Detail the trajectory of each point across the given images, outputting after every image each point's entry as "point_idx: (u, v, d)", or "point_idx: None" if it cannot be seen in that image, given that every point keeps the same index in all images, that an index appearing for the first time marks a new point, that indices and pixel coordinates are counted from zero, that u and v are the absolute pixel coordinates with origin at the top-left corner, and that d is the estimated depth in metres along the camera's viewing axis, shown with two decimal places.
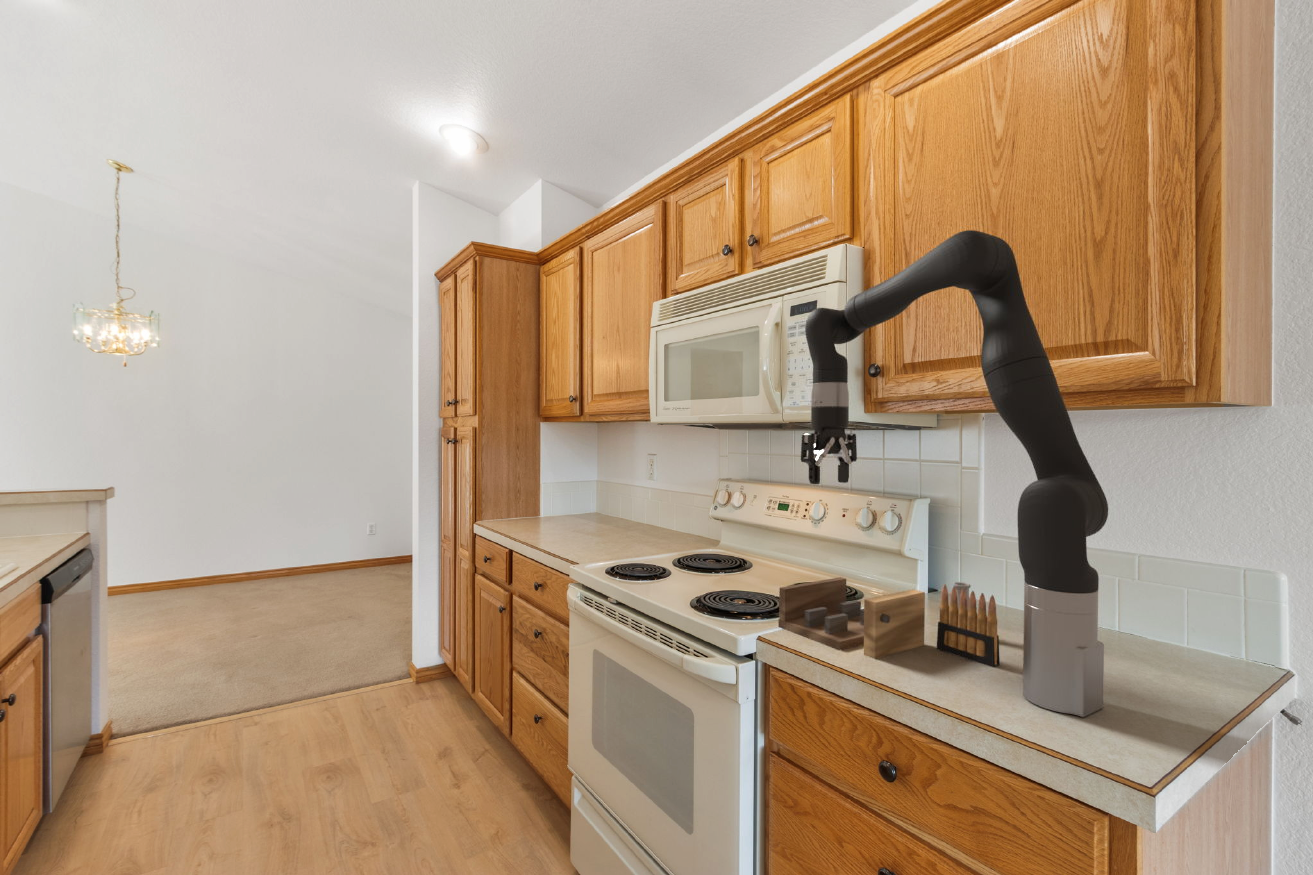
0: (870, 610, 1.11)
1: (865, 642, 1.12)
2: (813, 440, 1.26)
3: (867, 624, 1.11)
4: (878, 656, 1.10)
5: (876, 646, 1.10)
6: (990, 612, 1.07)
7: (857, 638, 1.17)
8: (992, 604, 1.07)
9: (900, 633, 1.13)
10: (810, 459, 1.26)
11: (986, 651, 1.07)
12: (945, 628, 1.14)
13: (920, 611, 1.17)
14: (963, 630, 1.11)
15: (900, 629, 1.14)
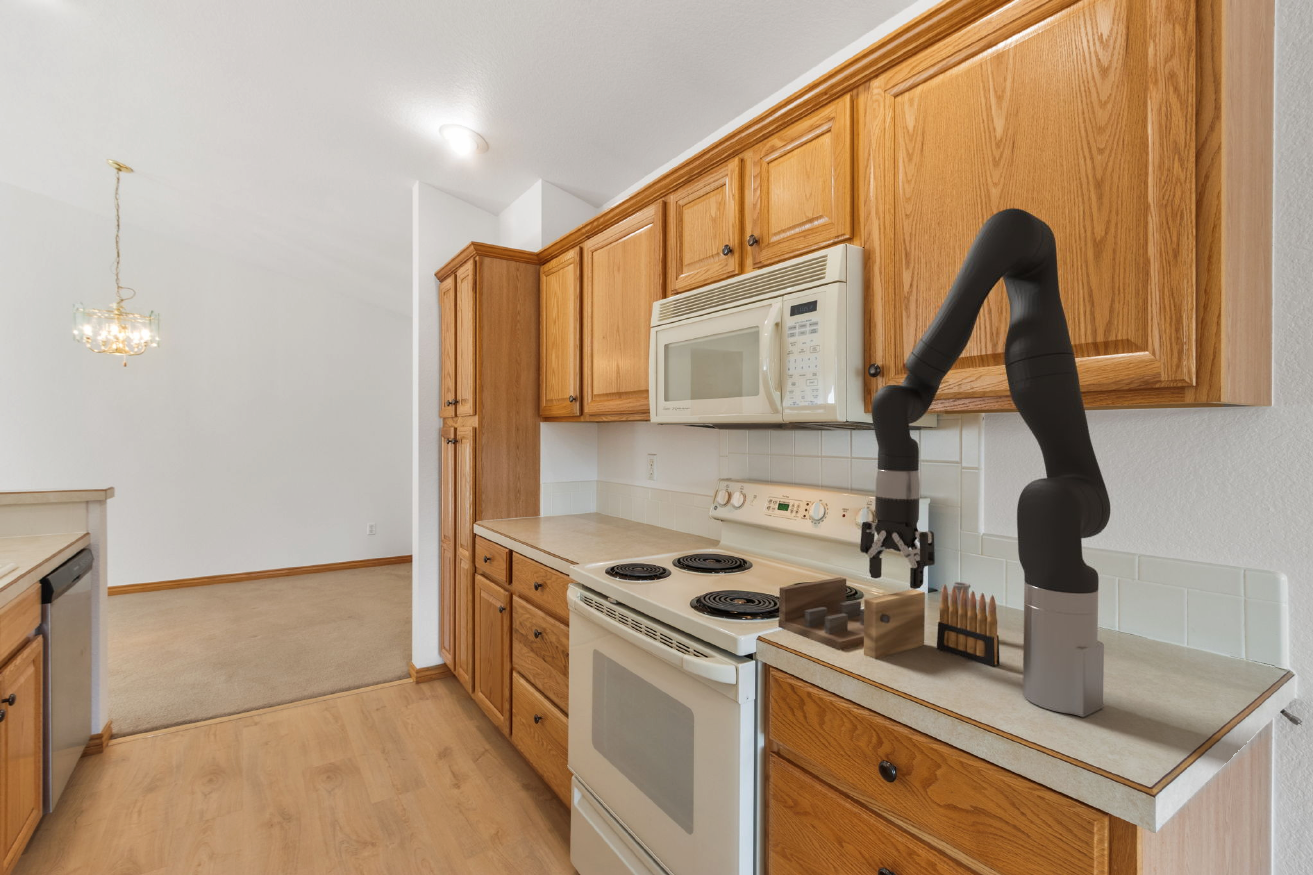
0: (870, 610, 1.11)
1: (865, 642, 1.12)
2: None
3: (867, 624, 1.11)
4: (878, 656, 1.10)
5: (876, 646, 1.10)
6: (990, 612, 1.07)
7: (857, 638, 1.17)
8: (992, 604, 1.07)
9: (900, 633, 1.13)
10: None
11: (986, 651, 1.07)
12: (945, 628, 1.14)
13: (920, 611, 1.17)
14: (963, 630, 1.11)
15: (900, 629, 1.14)
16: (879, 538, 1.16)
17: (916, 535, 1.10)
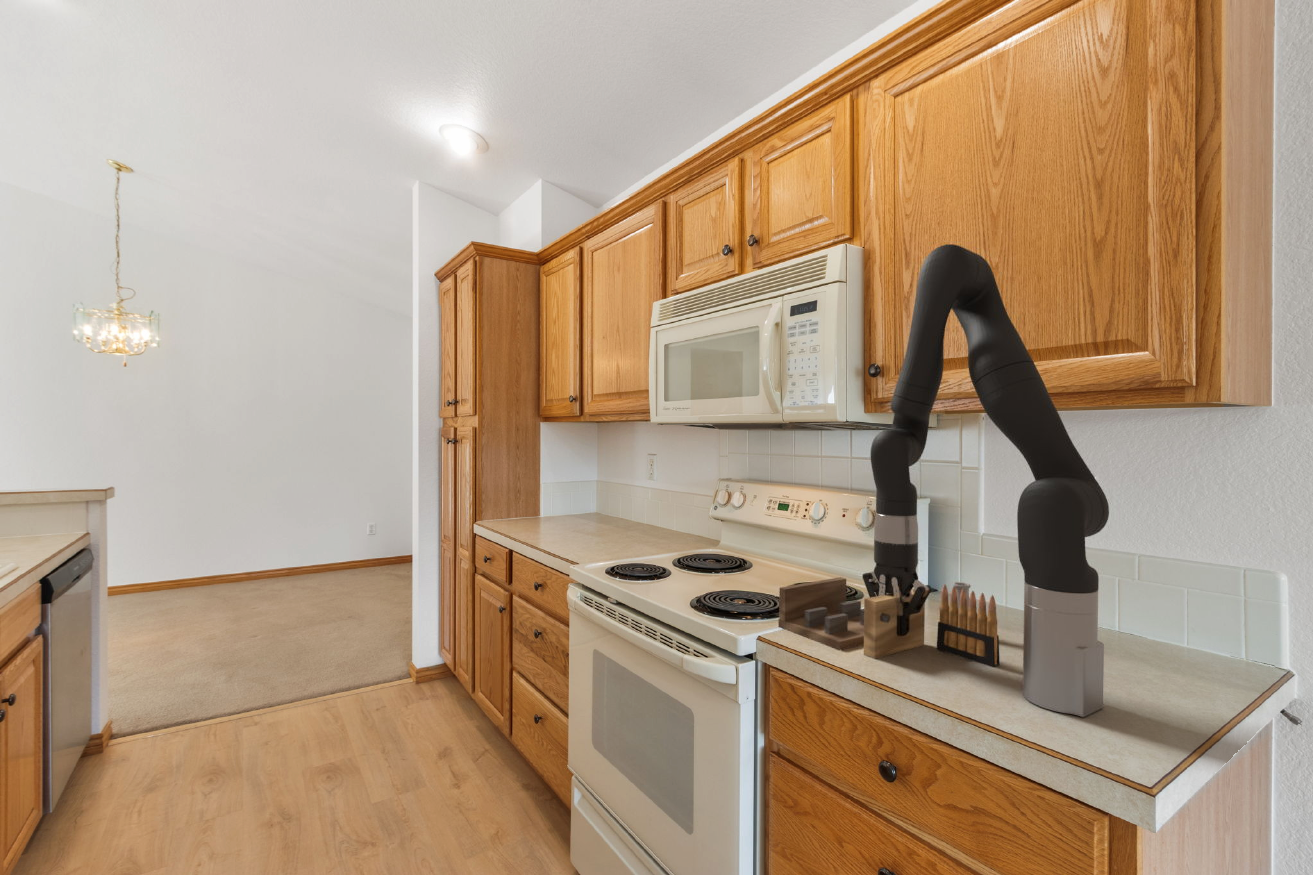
0: (870, 609, 1.11)
1: (865, 641, 1.12)
2: None
3: (867, 623, 1.11)
4: (878, 655, 1.10)
5: (876, 646, 1.10)
6: (990, 612, 1.07)
7: (857, 638, 1.17)
8: (992, 604, 1.07)
9: None
10: None
11: (986, 651, 1.07)
12: (945, 628, 1.14)
13: (920, 611, 1.17)
14: (963, 630, 1.11)
15: None
16: (881, 585, 1.15)
17: (914, 584, 1.11)
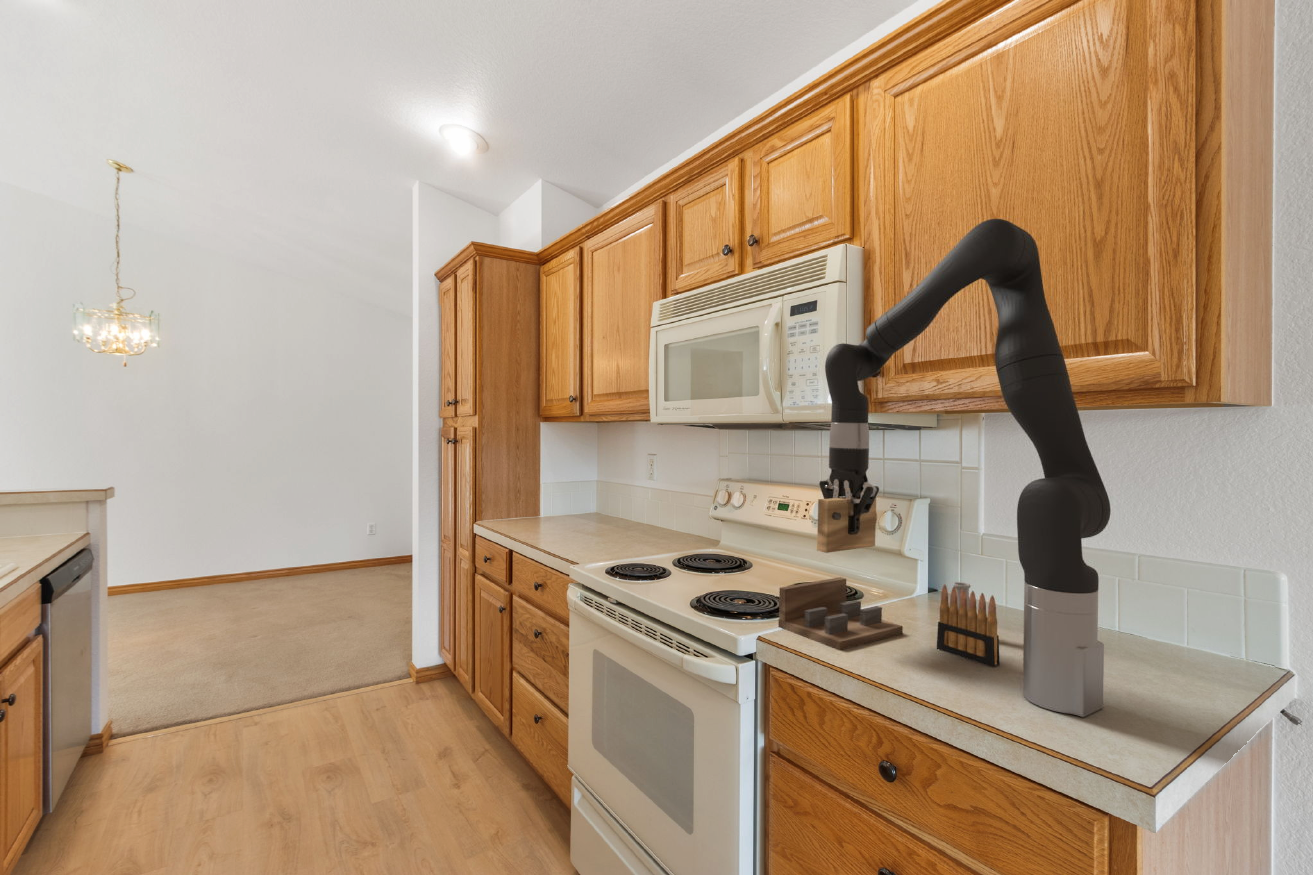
0: (823, 508, 1.20)
1: (818, 538, 1.21)
2: None
3: (820, 521, 1.21)
4: (829, 550, 1.20)
5: (828, 541, 1.20)
6: (990, 612, 1.07)
7: (857, 638, 1.17)
8: (992, 604, 1.07)
9: None
10: None
11: (986, 651, 1.07)
12: (945, 628, 1.14)
13: (871, 514, 1.26)
14: (963, 630, 1.11)
15: None
16: (835, 489, 1.24)
17: (863, 485, 1.20)
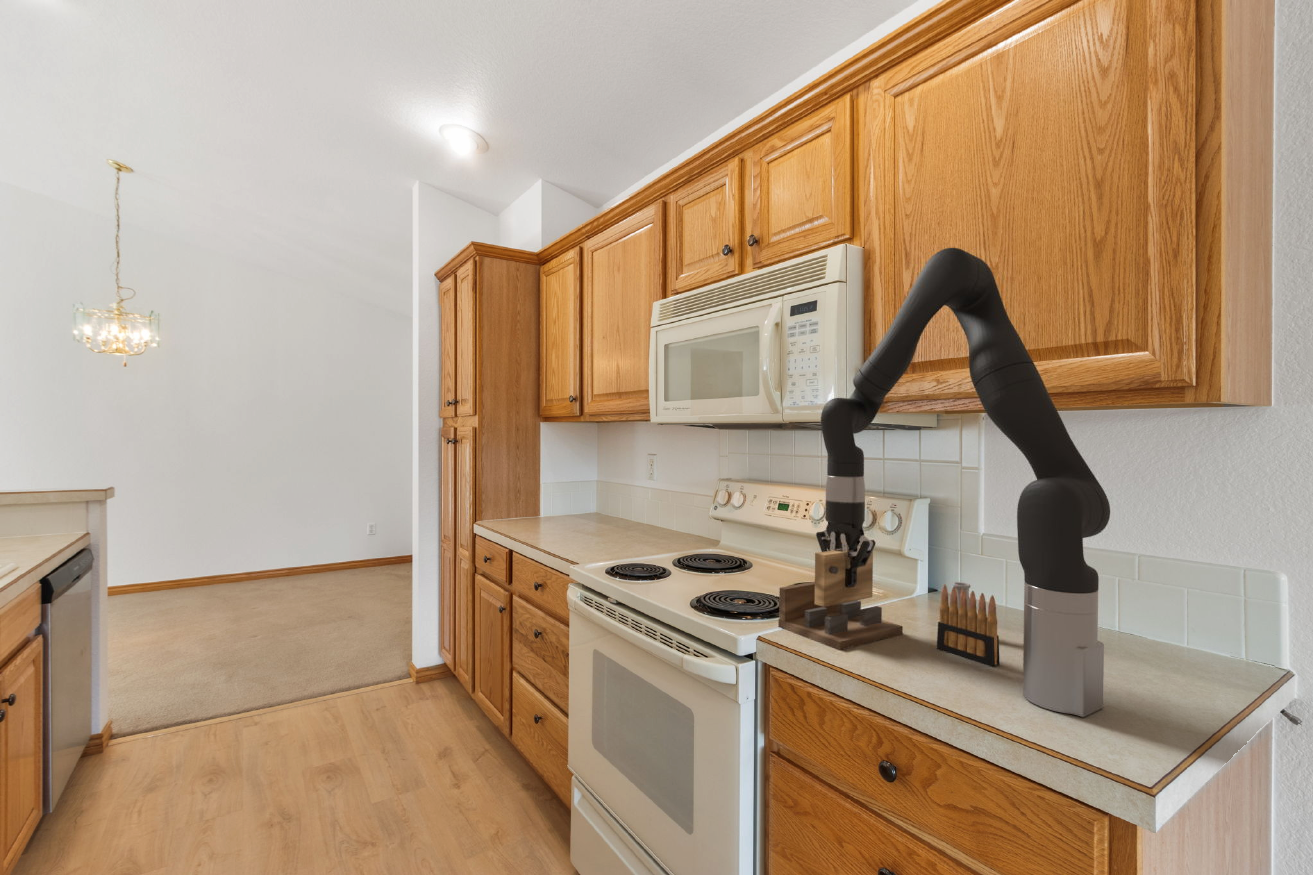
0: (820, 562, 1.21)
1: (816, 592, 1.22)
2: None
3: (817, 575, 1.21)
4: (827, 604, 1.21)
5: (825, 595, 1.20)
6: (990, 612, 1.07)
7: (857, 638, 1.17)
8: (992, 604, 1.07)
9: None
10: None
11: (986, 651, 1.07)
12: (945, 628, 1.14)
13: (868, 565, 1.27)
14: (963, 630, 1.11)
15: None
16: (832, 541, 1.25)
17: (860, 539, 1.21)
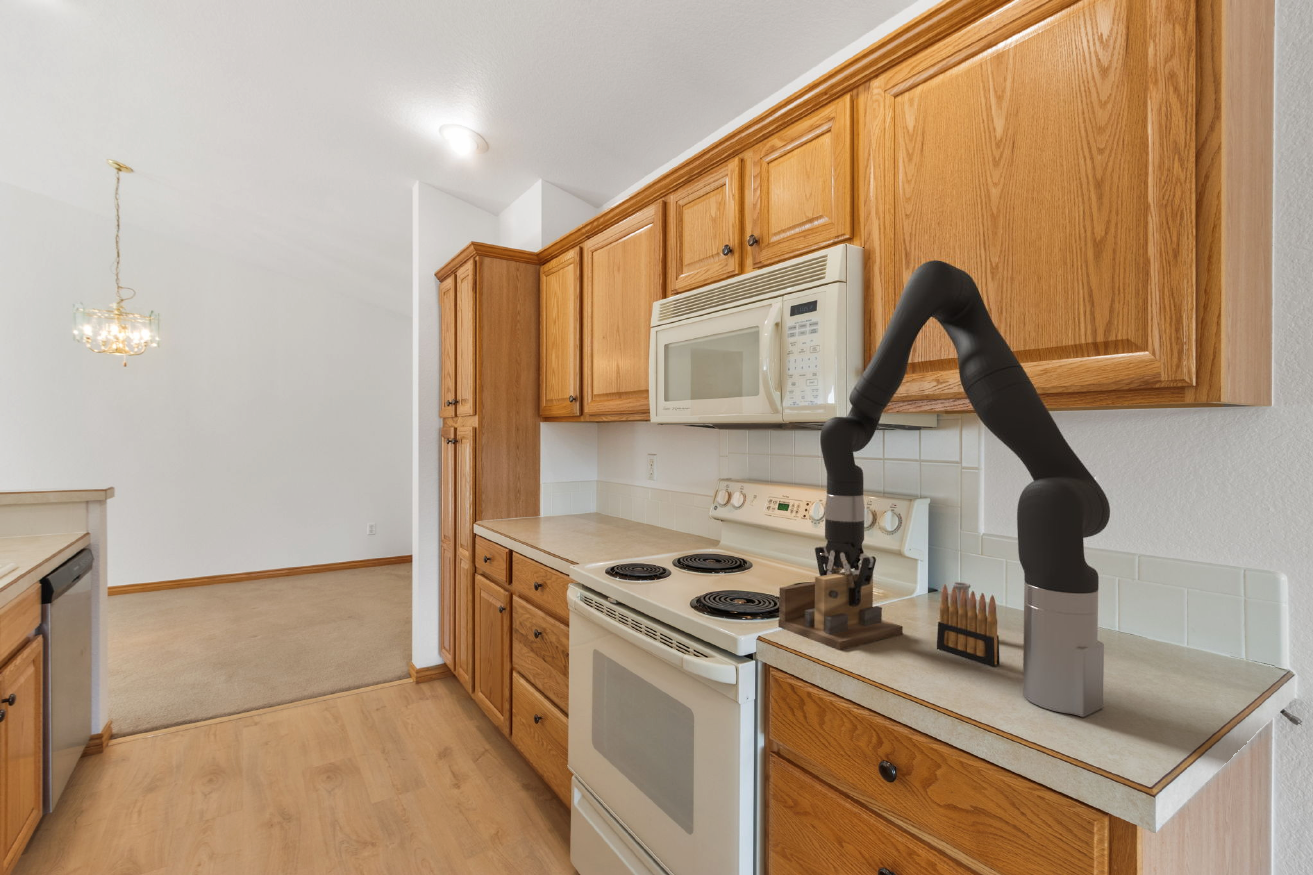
0: (820, 586, 1.21)
1: (815, 616, 1.22)
2: None
3: (817, 599, 1.21)
4: None
5: None
6: (990, 612, 1.07)
7: (857, 638, 1.17)
8: (992, 604, 1.07)
9: (848, 608, 1.23)
10: None
11: (986, 651, 1.07)
12: (945, 628, 1.14)
13: (868, 589, 1.27)
14: (963, 630, 1.11)
15: None
16: (830, 559, 1.25)
17: (860, 557, 1.21)
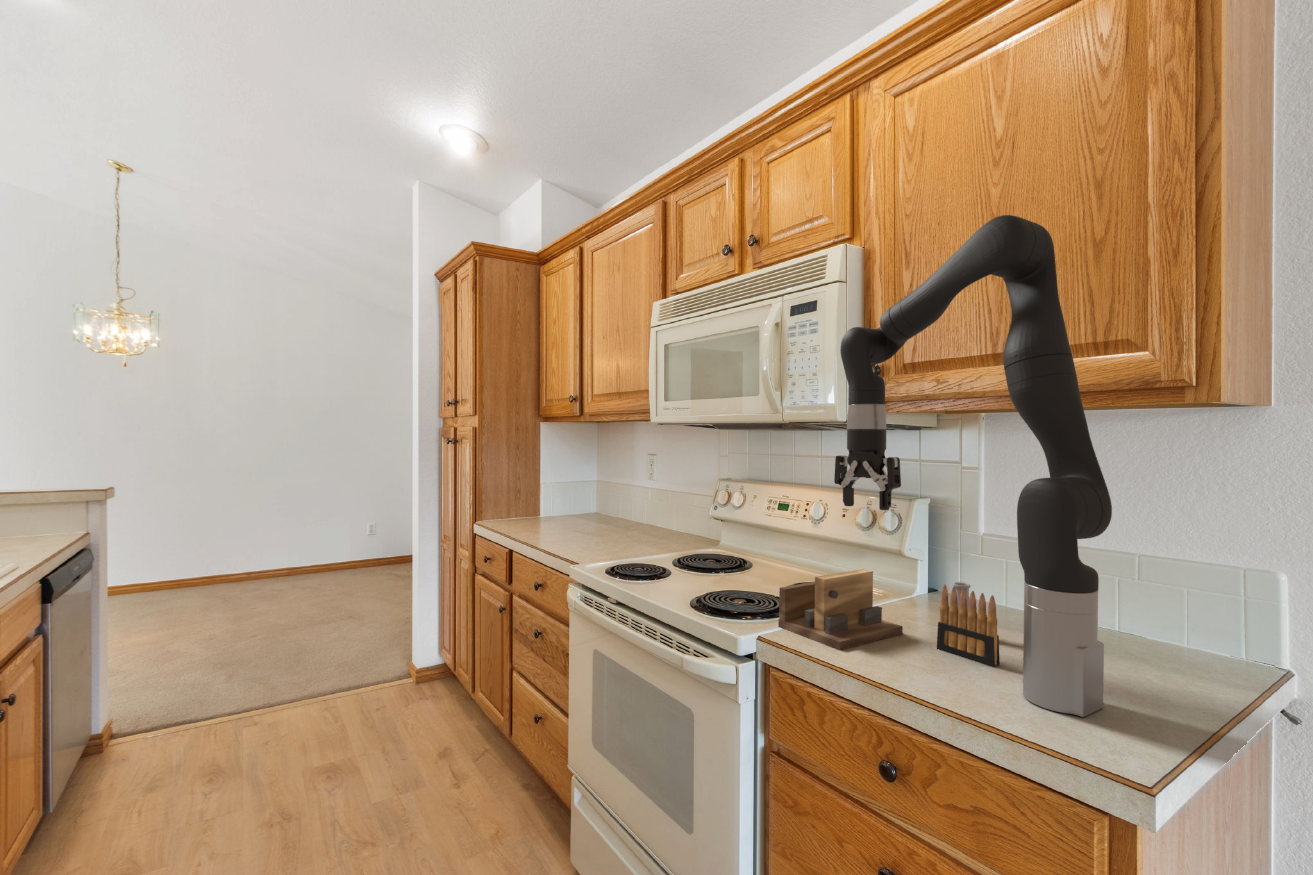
0: (820, 586, 1.21)
1: (815, 616, 1.22)
2: None
3: (817, 599, 1.21)
4: None
5: None
6: (990, 612, 1.07)
7: (857, 638, 1.17)
8: (992, 604, 1.07)
9: (848, 608, 1.24)
10: None
11: (986, 651, 1.07)
12: (945, 628, 1.14)
13: (868, 589, 1.27)
14: (963, 630, 1.11)
15: (849, 605, 1.24)
16: (851, 468, 1.27)
17: (884, 461, 1.22)
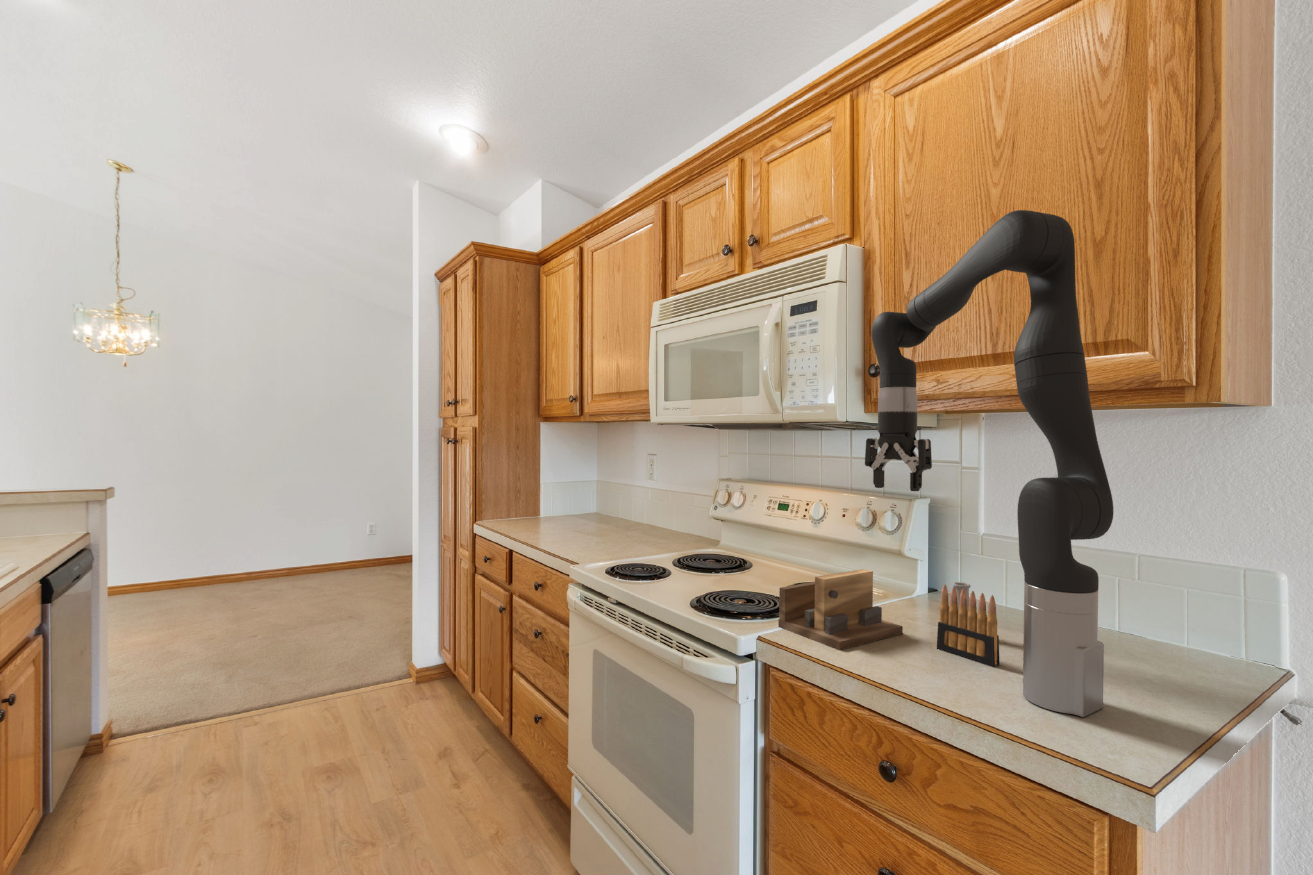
0: (820, 586, 1.21)
1: (815, 616, 1.22)
2: None
3: (817, 599, 1.21)
4: None
5: None
6: (990, 612, 1.07)
7: (857, 638, 1.17)
8: (992, 604, 1.07)
9: (848, 608, 1.24)
10: None
11: (986, 651, 1.07)
12: (945, 628, 1.14)
13: (868, 589, 1.27)
14: (963, 630, 1.11)
15: (849, 605, 1.24)
16: (882, 450, 1.29)
17: (915, 443, 1.24)
